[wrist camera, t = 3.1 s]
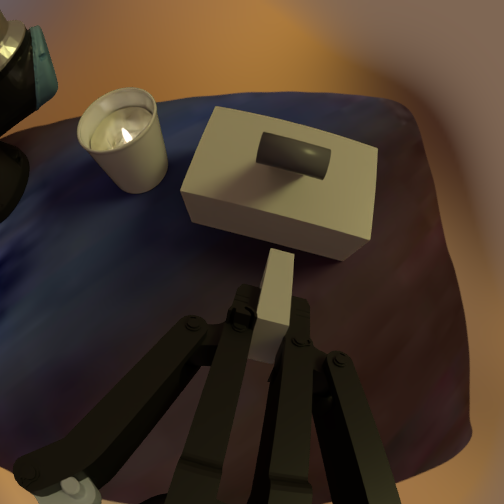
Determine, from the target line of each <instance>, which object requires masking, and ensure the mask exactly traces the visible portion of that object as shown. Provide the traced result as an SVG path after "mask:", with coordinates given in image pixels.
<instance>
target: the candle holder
mask: <svg viewBox="0 0 504 504" xmlns="http://www.w3.org/2000/svg"><path fill="white" fill-rule="evenodd" d="M77 137H78V141H79V143H80V144H81V146H82V147H83V148H84V149H85V150H86V151H87V152H88V153H89V154H90V155H91V157H92V158H93V159H94V160H95V161H96V162H97V163H98V165H99V166H100V167H101V168H102V169H103V170H104V172H105V173H106V174H107V175H108V176H109V177H110V178H111V179H112V181H113V182H114V183H115V184H116V185H117V186H118V187H119V188H120V189H122V190H123V191H125V192H128V193H132V194H139V193H144V192H147V191H149V190H151V189H153V188H154V187H156V186H157V185H158V184H159V183H160V182H161V181H162V179H163V178H164V176H165V174H166V172H167V169H168V158H167V153H166V149H165V145H164V140H163V136H162V132H161V128H160V123H159V119H158V114H157V108H156V102H155V100H154V98H153V97H152V95H151V94H149V93H148V92H147V91H145V90H143V89H139V88H132V87H130V88H121V89H117V90H114V91H111V92H109V93H107V94H105V95H103V96H101V97H100V98H98V99H97V100H96V101H94V102H93V103H92V104H91V105H90V106H89V107H88V108H87V110H86V111H85V112H84V114H83V115H82V117H81V119H80V121H79V124H78V128H77Z"/></svg>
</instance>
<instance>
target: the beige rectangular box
mask: <svg viewBox="0 0 504 504" xmlns="http://www.w3.org/2000/svg"><path fill="white" fill-rule="evenodd" d="M263 132H268V133H272V134H276V135H280V136H284V137H288V138H292V139H296V140H299V141H303V142H307V143H310V144H314V145H317V146H321V147H324V148H328V149H331V157H330V162H329V166H328V170H327V173H326V175H325V178H324V179H323V180H319V179H316V178H312V177H309V176H305V175H302V174H298V173H294V172H290V171H287V170H283V169H279V168H275V167H271V166H267V165H263V164H259V163H256V156H257V151H258V147H259V143H260V139H261V136H262V133H263ZM377 152H378V149H377V148H375V147H372V146H369V145H366V144H363V143H360V142H357V141H354V140H351V139H348V138H345V137H342V136H339V135H335V134H332V133H329V132H325V131H322V130H318V129H315V128H311V127H308V126H304V125H300V124H296V123H292V122H289V121H285V120H280V119H276V118H272V117H268V116H263V115H259V114H254V113H249V112H244V111H239V110H234V109H229V108H224V107H218V106H216V107H215V109H214V111H213V113H212V115H211V117H210V120H209V122H208V124H207V126H206V129H205V131H204V133H203V136H202V138H201V140H200V143H199V145H198V147H197V150H196V152H195V154H194V157H193V159H192V162H191V164H190V167H189V169H188V172H187V174H186V177H185V179H184V182H183V184H182V187H181V189H180V192H181V195H182V197H183V200H184V203H185V205H186V208H187V211H188V213H189V216H190V219H191V221H192V222H193V223H197V224H201V225H205V226H209V227H213V228H217V229H221V230H225V231H229V232H233V233H237V234H240V235H244V236H248V237H252V238H256V239H260V240H264V241H268V242H271V243H275V244H279V245H283V246H287V247H291V248H294V249H298V250H302V251H306V252H310V253H313V254H317V255H321V256H325V257H328V258H332V259H336V260H340V261H344V260H345V259H346V258H348V257H349V256H350V255H352V254H353V253H354V252H355V251H357V250H358V249H359V248H361V247H362V246H363V245H365V244H366V243H367V242H368V241H370V237H371V228H372V219H373V209H374V198H375V186H376V171H377Z"/></svg>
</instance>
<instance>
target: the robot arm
mask: <svg viewBox="0 0 504 504" xmlns="http://www.w3.org/2000/svg"><path fill="white" fill-rule="evenodd" d="M57 90H58V82H57V78H56V74H55V71H54V67H53V64H52V61H51V57H50V54H49V51H48V47H47V44H46V42H45V38H44V35H43V32H42V29H41V28H40V26H38V25H37V26H34V27H31V28H30V29H29V30H27V29H26V27H25V25H24V24H23V23H22V22H21V21H18V20H12V21H7V20H6V19H5V17H4V16H3V14H2V12H1V10H0V137H1V136H2V135H3V134H4V133H6V132H7V131H8V130H10V129H11V128H12V127H13V126H15V125H16V124H18V123H19V122H20V121H22V120H23V119H24V118H26V117H27V116H29V115H30V114H31V113H33V112H34V111H37V110H38V109H39V108H40V107H41V106H42V105H43V104H45V103H46V102H47V101H49V100H50V99H51V98H52V97H53V96H54V95H55V94H56V92H57ZM28 177H29V162H28V159H27V157H26V155H25V154H24V153H23V152H22V151H21V150H20V149H19V148H17V147H16V146H13V145H11V144H8V143H5V142H3V141H0V223H1V222H2V221H3V220H4V219H6V218H7V217H8V216H9V214H10V213H11V212H12V211H13V210H14V208H15V207H16V205H17V204H18V202H19V200H20V199H21V197H22V195H23V192H24V190H25V187H26V185H27V181H28ZM293 268H294V254H291V253H288V252H284V251H280V250H277V249H273V248H271V249H270V252H269V256H268V259H267V263H266V266H265V270H264V273H263V277H262V280H261V284H260V288H258V287H254V286H251V285H247V284H242V285H241V286H240V287H239V288H238V289H237V292H236V295H235V298H234V301H233V304H232V306H231V307H230V308H229V309H228V313H227V318H226V321H225V322H223V323H221V324H215V325H211V324H207V323H206V321H205V320H204V319H202V318H201V317H198V316H195V315H188V316H184V317H183V318H181V319H180V320H179V321H178V322H177V323H176V324H175V325H174V326H173V327H172V328H171V329H170V330H169V331H168V332H167V333H166V334H165V335H164V336H163V337H162V338H161V339H160V340H159V342H158V343H157V344H156V345H155V346H154V347H153V348H152V349H151V350H150V351H149V352H148V353H147V354H146V355H145V356H144V357H143V358H142V359H141V360H140V361H139V362H138V363H137V364H136V365H135V366H134V367H133V368H132V369H131V370H130V371H129V372H128V373H127V374H126V375H125V376H124V377H123V378H122V379H121V380H120V381H119V382H118V383H117V384H116V385H115V386H114V387H113V388H112V389H111V391H110V392H109V393H108V394H107V395H106V396H105V397H104V398H103V399H102V400H101V401H100V402H99V403H98V404H97V405H96V406H95V407H94V408H93V409H92V410H91V411H90V412H89V413H88V414H87V415H86V416H85V417H84V418H83V419H82V420H81V421H80V422H79V423H78V424H77V425H76V426H75V427H74V428H73V429H72V431H71V432H70V433H69V434H68V435H67V436H66V437H65V438H63V439H61V440H59V441H57V442H54V443H52V444H50V445H47V446H45V447H43V448H40V449H38V450H36V451H33V452H31V453H28V454H26V455H23V456H21V457H20V458H18V459H17V460H16V462H15V463H14V465H13V474H14V477H15V480H16V481H17V482H18V484H19V485H20V486H21V487H23V488H24V489H26V490H27V491H29V492H30V493H31V494H33V495H34V496H35V498H36V499H37V501H38V503H39V504H101V500H102V498H101V494H100V492H99V491H98V490H99V489H100V488H102V487H103V486H104V485H105V484H107V483H108V482H109V481H110V480H111V479H112V478H113V477H114V476H115V475H116V474H117V472H118V471H119V470H120V469H121V468H122V466H123V465H124V464H125V463H126V461H127V460H128V459H129V458H130V456H131V455H132V454H133V453H134V452H135V450H136V449H137V448H138V447H139V445H140V444H141V443H142V442H143V440H144V439H145V438H146V437H147V435H148V434H149V433H150V432H151V430H152V429H153V428H154V427H155V425H156V424H157V423H158V421H159V420H160V419H161V418H162V416H163V415H164V414H165V413H166V411H167V410H168V409H169V407H170V406H171V405H172V404H173V402H174V401H175V400H176V399H177V397H178V396H179V395H180V393H181V392H182V391H183V389H184V388H185V387H186V386H187V384H188V383H189V382H190V380H191V379H192V378H193V376H194V375H195V374H196V373H197V371H198V370H199V369H200V367H201V366H211V368H210V371H209V374H208V377H207V380H206V383H205V386H204V389H203V392H202V395H201V398H200V401H199V404H198V407H197V410H196V413H195V416H194V419H193V422H192V425H191V428H190V431H189V434H188V437H187V440H186V443H185V446H184V449H183V452H182V455H181V457H180V459H179V461H178V464H177V466H176V469H175V472H174V475H173V478H172V482H171V485H170V488H169V491H168V493H166V494H161V495H157V496H154V497H151V498H149V499H147V500H145V501H143V502H142V503H140V504H225V503H223V502H221V501H219V500H217V499H216V496H217V492H218V488H219V483H220V479H221V475H222V466H223V462H224V457H225V453H226V449H227V445H228V441H229V436H230V432H231V428H232V424H233V419H234V415H235V411H236V406H237V402H238V398H239V393H240V389H241V385H242V380H243V376H244V371H245V367H246V362H247V358H249V359H253V360H257V361H261V362H265V363H269V364H273V363H274V360H275V364H274V368H273V370H272V372H271V374H270V377H269V379H268V381H267V382H270V385H269V391H268V398H267V404H266V410H265V416H264V422H263V429H262V434H261V440H260V446H259V452H258V458H257V463H256V469H255V474H254V480H253V485H252V490H251V494H250V497H249V499H248V502H247V504H312V486H311V484H310V483H308V467H309V453H310V436H311V416H312V415H313V419H314V423H315V428H316V432H317V436H318V441H319V445H320V449H321V454H322V458H323V463H324V467H325V471H326V476H327V481H328V485H329V490H330V494H331V499H332V503H333V504H401V501H400V498H399V494H398V491H397V488H396V484H395V481H394V478H393V475H392V472H391V468H390V465H389V462H388V459H387V456H386V453H385V450H384V447H383V444H382V441H381V438H380V436H379V433H378V430H377V427H376V424H375V421H374V418H373V416H372V413H371V410H370V407H369V404H368V402H367V399H366V396H365V394H364V391H363V388H362V385H361V383H360V380H359V378H358V375H357V372H356V370H355V367H354V364H353V362H352V360H351V358H350V357H349V356H348V355H347V354H345V353H343V352H341V351H332V352H330V353H329V354H326V353H324V352H322V351H320V350H318V349H317V348H315V347H314V346H313V342H312V340H311V339H310V306H309V304H308V302H307V300H306V299H303V298H299V297H295V296H291V295H292V282H293Z"/></svg>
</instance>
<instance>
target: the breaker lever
mask: <svg viewBox="0 0 504 504" xmlns="http://www.w3.org/2000/svg"><path fill="white" fill-rule="evenodd" d="M330 157H331V149H328V148H324V147H321V146H317V145H314V144H310V143H307V142H303V141H299V140H296V139H292V138H288V137H284V136H280V135H276V134H272V133H268V132H263V133H262V136H261V139H260V143H259V147H258V151H257V156H256V163H259V164H263V165H267V166H271V167H275V168H279V169H283V170H287V171H290V172H294V173H298V174H302V175H305V176H309V177H312V178H316V179H319V180H323V179H324V178H325V175H326V173H327V170H328V166H329V162H330Z"/></svg>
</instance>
